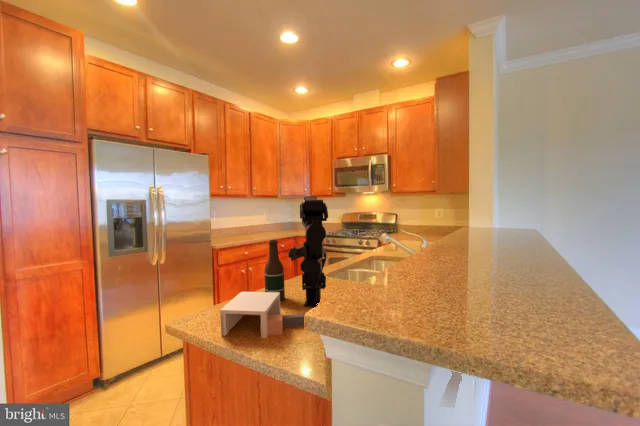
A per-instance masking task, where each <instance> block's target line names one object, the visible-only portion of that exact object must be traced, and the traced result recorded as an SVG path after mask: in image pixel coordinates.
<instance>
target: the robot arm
mask: <svg viewBox="0 0 640 426" xmlns="http://www.w3.org/2000/svg"><path fill="white" fill-rule="evenodd" d="M299 219H301V225H302V226H303V228H305V229H304V231H305V232H304V233H305V240H304V242H303V245H301V246H297V247H296V246H294V247H291V248H290V249H289V250H288V252H287V253H288V258H289V259H290V261H291V262H293V261H296V260H299V259H300V258H303V260H302V261H301V263H300V271H301V272H303V273H301V287H302V288H301V289H302V291H304V290H305V301H304V304H303V306H304V307H318V306H317V305H318V304H317V303H319V302H320V299H322V297H321V296H322V293H321V291H322V290H325V288H326V287H327V284H326V283H327V276H326V275H325V273H324V272H323V271H324V267H325V264H326V261H327V257H328V252H327V251H326V250H325V249H324V243H325V238H326V237H327V231H326V229H325V227H324V224H323V222H328V220H327V219H329V212H328V206H327V205H326V202H324V200H323V199H318V197H317V196H316V195H307V196H306V195H305V196H304V197H303V201H302V202H301V203H300V204H299ZM316 304H317V305H316Z"/></svg>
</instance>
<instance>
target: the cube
mask: <svg viewBox="0 0 640 426" xmlns="http://www.w3.org/2000/svg"><path fill="white" fill-rule="evenodd" d="M283 316H284V315H283V314H282V313H281V314H274V315H268V316H267V324H268V336H280V335H282V336H283V331H284V330H283V329H284V327H283Z"/></svg>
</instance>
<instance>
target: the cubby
mask: <svg viewBox="0 0 640 426" xmlns="http://www.w3.org/2000/svg"><path fill="white" fill-rule="evenodd" d="M274 314H282V311H281V302H280V292H265V291H240V292H239V293H238V294H237V295H235V297H234V298H232V299H231V300H230V301H229V302H228V303H227V304H225V305H224V306H223V307H222V308H220V309H219V315H220V317H219V318H220V335H227V334H228V335H229V332H230V331H231V330H232V328H233V327H235V325H236V324H237V323H238V322H239V321H240V320H241V318H243V317H244V316H260V323H261V333H260V335H261V336H260V337H261V338H262V339H265V338H266V339H267V337H268V336H269V335H268V324H267V317H268V315H274ZM230 329H231V330H230ZM229 330H230V331H229ZM228 331H229V332H228ZM228 335H227V336H228Z"/></svg>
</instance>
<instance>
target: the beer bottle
mask: <svg viewBox="0 0 640 426" xmlns="http://www.w3.org/2000/svg"><path fill="white" fill-rule="evenodd" d="M278 243H279V241H278V240H277V239H271V240H268V245H269V247H268V260H267V263H266V264H265V266H264V292H280V303H281V302H283V301H284V300H285V295H286V294H285V293H286V291H285V290H286V289H285V287H286V286H285V269H284V265H283V263H282V262H281V260H280V257H279V248H278Z"/></svg>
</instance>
